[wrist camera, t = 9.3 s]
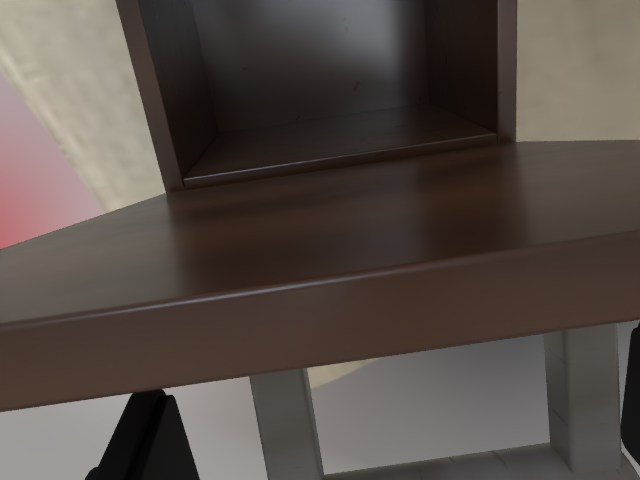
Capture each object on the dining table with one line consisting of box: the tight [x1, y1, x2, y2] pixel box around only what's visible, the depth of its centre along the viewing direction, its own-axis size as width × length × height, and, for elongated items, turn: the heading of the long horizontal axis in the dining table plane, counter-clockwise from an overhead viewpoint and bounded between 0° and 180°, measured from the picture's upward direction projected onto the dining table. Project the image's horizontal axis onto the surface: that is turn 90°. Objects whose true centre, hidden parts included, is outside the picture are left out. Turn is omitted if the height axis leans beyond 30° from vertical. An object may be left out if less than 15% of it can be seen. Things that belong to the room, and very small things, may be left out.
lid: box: [0, 140, 640, 480], centre depth 13 cm, size 16×15×5 cm
